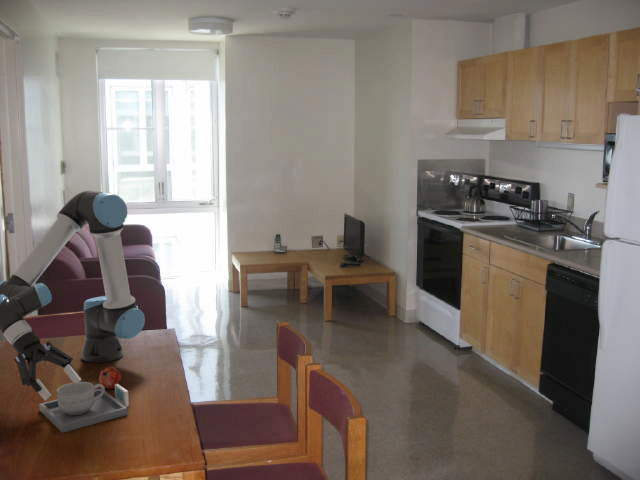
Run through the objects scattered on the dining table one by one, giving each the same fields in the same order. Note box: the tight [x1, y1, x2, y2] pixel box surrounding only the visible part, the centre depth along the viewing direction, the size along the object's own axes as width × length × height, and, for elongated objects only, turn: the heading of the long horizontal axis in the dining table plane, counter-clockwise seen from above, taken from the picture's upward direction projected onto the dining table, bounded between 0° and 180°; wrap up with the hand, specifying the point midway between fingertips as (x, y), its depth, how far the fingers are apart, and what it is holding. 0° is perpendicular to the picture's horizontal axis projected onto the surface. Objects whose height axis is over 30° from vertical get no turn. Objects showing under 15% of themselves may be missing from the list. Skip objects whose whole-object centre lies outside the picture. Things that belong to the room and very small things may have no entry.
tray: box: [38, 388, 129, 433], centre depth 214 cm, size 20×20×2 cm
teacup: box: [56, 381, 106, 415], centre depth 213 cm, size 14×11×8 cm
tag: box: [114, 383, 130, 408], centre depth 221 cm, size 1×8×5 cm, turn 39°
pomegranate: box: [98, 366, 122, 390], centre depth 234 cm, size 7×7×10 cm
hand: (63, 390), depth 215 cm, fingers open, 13 cm apart
